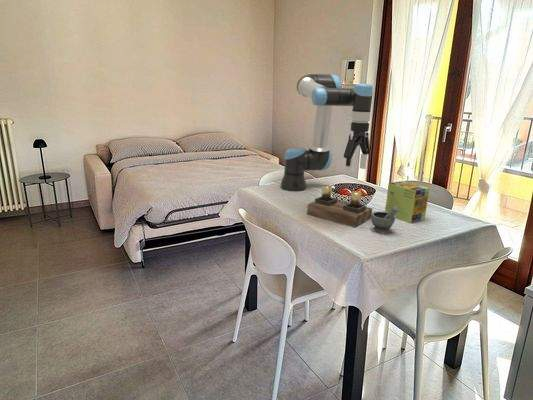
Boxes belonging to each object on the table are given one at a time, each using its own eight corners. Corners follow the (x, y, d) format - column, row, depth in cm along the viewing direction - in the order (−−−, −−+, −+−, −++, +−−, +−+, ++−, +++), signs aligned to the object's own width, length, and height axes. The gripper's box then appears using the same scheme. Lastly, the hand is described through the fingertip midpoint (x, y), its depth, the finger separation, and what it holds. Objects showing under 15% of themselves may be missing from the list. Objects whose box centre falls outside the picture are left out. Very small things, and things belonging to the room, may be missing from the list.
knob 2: (352, 200, 174) (354, 190, 172) (361, 203, 171) (362, 192, 169) (348, 203, 170) (349, 192, 169) (357, 205, 168) (358, 194, 166)
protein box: (411, 223, 171) (416, 190, 167) (384, 213, 183) (388, 182, 179) (425, 219, 177) (430, 187, 172) (398, 210, 189) (402, 180, 184)
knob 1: (324, 194, 183) (325, 184, 181) (332, 196, 180) (333, 186, 179) (319, 196, 179) (320, 186, 178) (328, 198, 177) (328, 187, 175)
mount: (324, 206, 191) (325, 193, 189) (371, 218, 176) (372, 204, 174) (307, 214, 179) (308, 200, 177) (355, 227, 164) (356, 212, 162)
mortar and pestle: (365, 229, 162) (368, 203, 159) (377, 224, 169) (380, 199, 165) (389, 237, 155) (392, 210, 151) (400, 232, 161) (404, 205, 157)
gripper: (365, 119, 171) (360, 165, 178) (337, 122, 153) (333, 174, 159) (381, 120, 167) (375, 168, 173) (354, 124, 148) (349, 177, 155)
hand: (355, 171), depth 166 cm, fingers open, 13 cm apart
